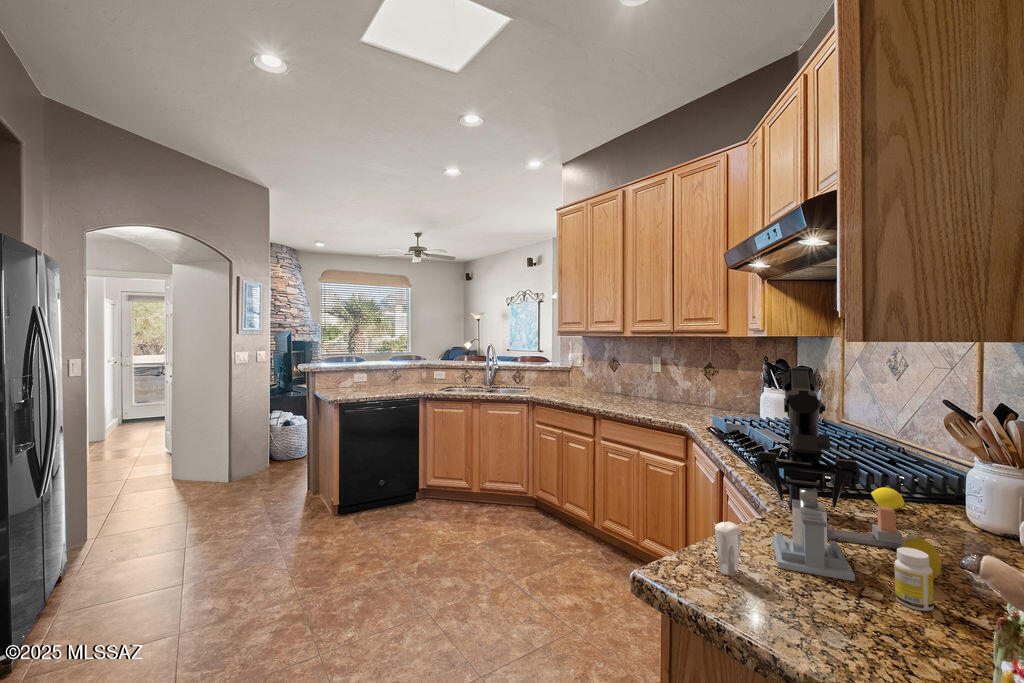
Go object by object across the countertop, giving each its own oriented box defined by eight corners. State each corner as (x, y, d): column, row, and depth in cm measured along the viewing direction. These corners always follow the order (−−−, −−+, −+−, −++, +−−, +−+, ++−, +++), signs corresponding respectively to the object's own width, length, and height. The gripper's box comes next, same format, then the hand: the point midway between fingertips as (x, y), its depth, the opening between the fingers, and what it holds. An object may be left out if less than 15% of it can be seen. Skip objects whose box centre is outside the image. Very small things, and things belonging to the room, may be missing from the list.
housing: (792, 545, 94) (791, 484, 94) (825, 551, 91) (823, 488, 91) (793, 555, 89) (792, 492, 89) (827, 562, 86) (826, 496, 86)
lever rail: (823, 532, 103) (823, 523, 103) (913, 544, 96) (913, 535, 96) (826, 538, 99) (826, 529, 99) (920, 552, 92) (920, 542, 92)
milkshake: (716, 562, 89) (715, 511, 89) (745, 571, 85) (744, 518, 85) (707, 570, 86) (706, 517, 86) (736, 580, 82) (735, 525, 82)
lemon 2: (893, 578, 82) (892, 534, 83) (910, 572, 85) (909, 529, 85) (931, 593, 77) (930, 546, 77) (948, 586, 80) (947, 540, 80)
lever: (872, 533, 99) (871, 504, 99) (895, 536, 98) (894, 506, 98) (878, 540, 95) (877, 510, 95) (902, 544, 94) (901, 513, 94)
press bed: (772, 541, 98) (771, 495, 98) (838, 551, 93) (838, 503, 93) (778, 568, 86) (777, 516, 86) (855, 582, 81) (854, 526, 81)
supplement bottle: (918, 596, 76) (917, 546, 77) (942, 612, 72) (940, 559, 72) (887, 595, 77) (886, 545, 77) (909, 611, 72) (908, 558, 72)
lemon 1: (906, 511, 117) (910, 491, 116) (898, 516, 114) (901, 495, 113) (874, 500, 122) (877, 481, 122) (865, 504, 120) (868, 484, 119)
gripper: (756, 416, 104) (755, 477, 94) (857, 422, 94) (867, 491, 85) (758, 443, 110) (757, 502, 101) (853, 451, 101) (861, 518, 91)
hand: (807, 503), depth 94 cm, fingers open, 9 cm apart
